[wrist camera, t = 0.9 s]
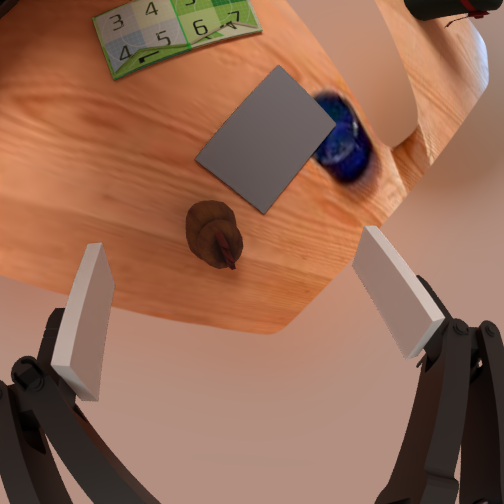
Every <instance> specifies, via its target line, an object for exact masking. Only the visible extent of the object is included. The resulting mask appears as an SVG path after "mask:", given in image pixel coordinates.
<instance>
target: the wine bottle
mask: <svg viewBox="0 0 504 504" xmlns="http://www.w3.org/2000/svg"><path fill="white" fill-rule="evenodd" d="M404 2H405V5H406V7H407V8H408V10H409V11H410V12H411V14H412V15H413V16H415V17H416V18H417V19H418V20H423V21H426V20H430V19H435V18H440V17H446V16H451V15H458V14H464V13H468V16H467V17H474V18H476V19H479V18H483V15H487V14H489V13H488V12H487V11H490V10H497V9H498V8H499V7H500V6H501V4H502V2H503V0H404ZM464 18H466V17H464ZM460 19H463V18H460ZM457 20H459V19H457ZM454 21H456V20H454ZM452 22H453V21H451V22H449V23H448V24H447V25H446V26H445V27H448V26H449V25H450V24H451V23H452ZM445 27H444V28H445Z"/></svg>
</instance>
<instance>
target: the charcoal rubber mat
mask: <svg viewBox="0 0 504 504" xmlns="http://www.w3.org/2000/svg"><path fill="white" fill-rule="evenodd" d="M335 125H336V123H335V122H334V121H333V120H332V119H331V118H330V116H329V115H328V114H327V113H326V112H325V111H324V110H323V109H322V108H321V107H320V106H319V104H318V103H317V102H316V101H315V100H314V99H313V98H312V97H311V96H310V95H309V94H308V93H307V92H306V91H305V90H304V89H303V88H302V87H301V86H300V85H299V84H298V83H297V82H296V81H295V80H294V79H293V78H292V77H291V76H290V75H289V74H288V73H287V72H286V71H285V70H284V69H283V68H282V67H281V66H280V65H278V66H277V67H276V68H275V69H274V70H273V71H272V72H271V73H270V74H269V75H268V76H267V77H266V78H265V79H264V80H263V81H262V82H261V83H260V84H259V85H258V86H257V87H256V88H255V89H254V91H253V92H252V93H251V94H250V95H249V96H248V97H247V98H246V99H245V100H244V101H243V103H242V104H241V105H240V106H239V107H238V108H237V109H236V110H235V111H234V113H233V114H232V115H231V116H230V117H229V118H228V119H227V121H226V122H225V123H224V124H223V125H222V126H221V128H220V129H219V130H218V131H217V132H216V133H215V135H214V136H213V137H212V138H211V139H210V141H209V142H208V143H207V144H206V145H205V147H204V148H203V149H202V150H201V152H200V153H199V154H198V155H197V157H196V158H195V160H196V161H197V162H199V163H200V164H201V165H203V166H204V167H205V168H207V169H208V170H209V171H210V172H212V173H213V174H214V175H215V176H217V177H218V178H219V179H221V180H222V181H223V182H224V183H226V184H227V185H228V186H229V187H231V188H232V189H233V190H234V191H236V192H237V193H238V194H239V195H241V196H242V197H243V198H244V199H246V200H247V201H248V202H249V203H251V204H252V205H253V206H254V207H256V208H257V209H258V210H259V211H261V212H262V213H263V214H265V212H266V211H267V210H268V209H269V207H270V206H271V205H272V204H273V202H274V201H275V200H276V199H277V197H278V196H279V195H280V194H281V192H282V191H283V190H284V189H285V187H286V186H287V185H288V184H289V182H290V181H291V180H292V179H293V177H294V176H295V175H296V174H297V172H298V171H299V170H300V169H301V167H302V166H303V165H304V164H305V162H306V161H307V160H308V159H309V157H310V156H311V155H312V154H313V152H314V151H315V150H316V149H317V148H318V146H319V145H320V144H321V143H322V141H323V140H324V139H325V138H326V136H327V135H328V134H329V133H330V132H331V130H332V129H333V128H334V127H335Z"/></svg>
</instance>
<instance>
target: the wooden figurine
mask: <svg viewBox="0 0 504 504" xmlns="http://www.w3.org/2000/svg"><path fill="white" fill-rule="evenodd" d="M186 238H187V241H188V244H189V247H190V250H191V251H192V252H193V253H194V254H195V255H196V256H197V257H199V258H200V259H203V260H204V261H206V262H207V263H208V264H209V265H211V266H213V267H216V268H218V269H221V268H227V267H229V268H230V269H232V270H234V269H236V267H235V264H234V263H235V262H236V261H237V260H238V259H239V257H240V255H241V253H242V249H243V241H242V236H241V234H240V231H239V230H238V228H237V227H236V220H235V216H234V213H233V211H232V210H231V209H230V208H229V207H228V206H227V205H226V204H225V203H223V202H218V201H201V202H199V203H196V204H194V205H193V206H192V207H191V208H190V209H189V211H188V214H187V217H186Z"/></svg>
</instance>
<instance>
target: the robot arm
mask: <svg viewBox="0 0 504 504" xmlns="http://www.w3.org/2000/svg"><path fill="white" fill-rule="evenodd" d="M18 1H19V0H0V18H1V17H2V16H3V15H5V14H6V13H7V12H8V11H9V10H10V9H11V8H12V7H13V6H14V5H15V4H16V3H17V2H18ZM352 267H353V268H354V270H355V272H356V273H357V275H358V277H359V278H360V280H361V282H362V283H363V285H364V287H365V288H366V290H367V292H368V293H369V295H370V297H371V299H372V300H373V302H374V304H375V305H376V307H377V309H378V310H379V312H380V314H381V316H382V318H383V319H384V321H385V323H386V325H387V327H388V328H389V330H390V332H391V334H392V336H393V338H394V339H395V341H396V343H397V345H398V347H399V349H400V351H401V353H402V354H403V356H404V358H405V360H406V359H409V358H413V357H416V356H418V354H419V353H420V352H421V351H422V349H423V348H424V350H425V352H426V354H425V355H424V356H423V357H422V359H421V360H420V361H419V363H418V364H417V366H416V367H417V368H418V367H419V366H420V365H421V363H422V367H421V373H420V377H419V383H418V387H417V391H416V396H415V400H414V404H413V408H412V412H411V416H410V419H409V423H408V427H407V430H406V433H405V437H404V440H403V443H402V446H401V449H400V452H399V455H398V458H397V461H396V464H395V467H394V469H393V472H392V475H391V478H390V480H389V482H388V484H387V486H386V487H385V488H384V489H383V490H382V491H381V493H380V494H379V496H378V497H377V499H376V501H375V504H455V500H456V497H457V494H458V490H459V483H458V481H457V480H456V479H455V478H454V472H455V468H456V464H457V460H458V455H459V450H460V445H461V473H460V490H459V504H504V346H503V342H502V339H501V335H500V332H499V330H498V328H497V327H496V325H495V324H493V323H492V322H490V321H483V322H482V323H481V325H480V326H479V327H478V328H477V327H468V325H467V324H466V323H465V322H464V321H462V320H461V319H457V318H455V319H453V318H452V316H451V315H450V313H449V312H448V310H447V309H446V308H445V306H444V305H443V303H442V302H441V300H440V299H439V298H438V297H437V295H436V293H435V292H434V291H433V290H432V288H431V287H430V285H429V284H428V283H427V281H425V280H424V279H423V278H422V277H420V276H419V275H417V276H415V274H414V273H413V272H412V270H411V269H410V268H409V266H408V265H407V264H406V262H405V261H404V260H403V259H402V257H401V256H400V255H399V253H398V252H397V251H396V250H395V249H394V247H393V246H392V244H391V243H390V242H389V241H388V240H387V239H386V237H385V236H384V235H383V233H382V232H381V231H380V230H379V229H378V227H377V226H364V229H363V232H362V235H361V239H360V242H359V245H358V248H357V252H356V255H355V258H354V261H353V264H352ZM114 289H115V282H114V279H113V276H112V273H111V270H110V267H109V264H108V260H107V257H106V254H105V250H104V247H103V243H102V242H100V243H89V244H88V245H87V247H86V250H85V252H84V255H83V258H82V260H81V263H80V266H79V269H78V271H77V274H76V277H75V280H74V283H73V286H72V289H71V292H70V295H69V298H68V302H67V305H66V308H55V310H54V311H53V312H52V314H51V315H50V317H49V318H48V322H47V325H46V330H45V331H44V335H43V339H42V342H41V345H40V349H39V353H38V357H37V360H36V359H35V358H34V357H32V356H24V357H22V358H20V359H19V360H17V362H15V364H14V365H13V367H12V371H11V378H12V381H13V382H14V383H15V384H12V385H8V386H7V385H6V384H5V383H4V382H3V381H1V380H0V475H1V478H2V482H3V485H4V488H5V491H6V493H7V497H8V499H9V502H10V504H73V503H72V501H71V498H70V496H69V494H68V492H67V490H66V488H65V485H64V483H63V481H62V479H61V476H60V474H59V471H58V469H57V467H56V464H55V461H54V458H53V456H52V453H51V450H50V448H49V445H48V442H47V439H46V436H47V437H48V439H49V441H50V442H51V444H52V446H53V447H54V449H55V450H56V452H57V454H58V455H59V457H60V458H61V460H62V461H63V463H64V464H65V466H66V467H67V469H68V470H69V472H70V473H71V474H72V476H73V477H74V479H75V480H76V481H77V483H78V484H79V485H80V487H81V488H82V489H83V490H84V492H85V493H86V494H87V496H88V497H89V498H90V499H91V501H92V502H93V503H94V504H161V503H160V502H159V501H158V500H157V499H156V498H155V497H153V495H151V494H150V493H149V492H148V491H147V490H146V489H145V488H144V487H143V485H141V483H140V482H139V481H138V480H137V479H136V478H135V477H134V476H133V475H132V474H131V473H130V472H129V471H128V470H127V469H126V467H125V466H124V465H123V464H122V463H121V462H120V460H119V459H118V458H117V457H116V456H115V455H114V453H113V452H112V451H111V450H110V449H109V447H108V446H107V445H106V444H105V442H104V441H103V440H102V439H101V437H100V436H99V435H98V433H97V432H96V431H95V429H94V428H93V427H92V425H91V424H90V423H89V421H88V420H87V418H86V417H85V416H84V414H83V413H82V411H81V410H80V408H79V407H78V406H77V405H76V403H75V399H76V395H77V396H78V397H79V398H80V399H81V400H82V401H98V399H99V387H100V378H101V368H102V361H103V353H104V346H105V339H106V333H107V326H108V320H109V315H110V309H111V304H112V299H113V294H114ZM480 360H482V366H481V367H479V364H478V363H479V362H480ZM45 434H46V436H45Z"/></svg>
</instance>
